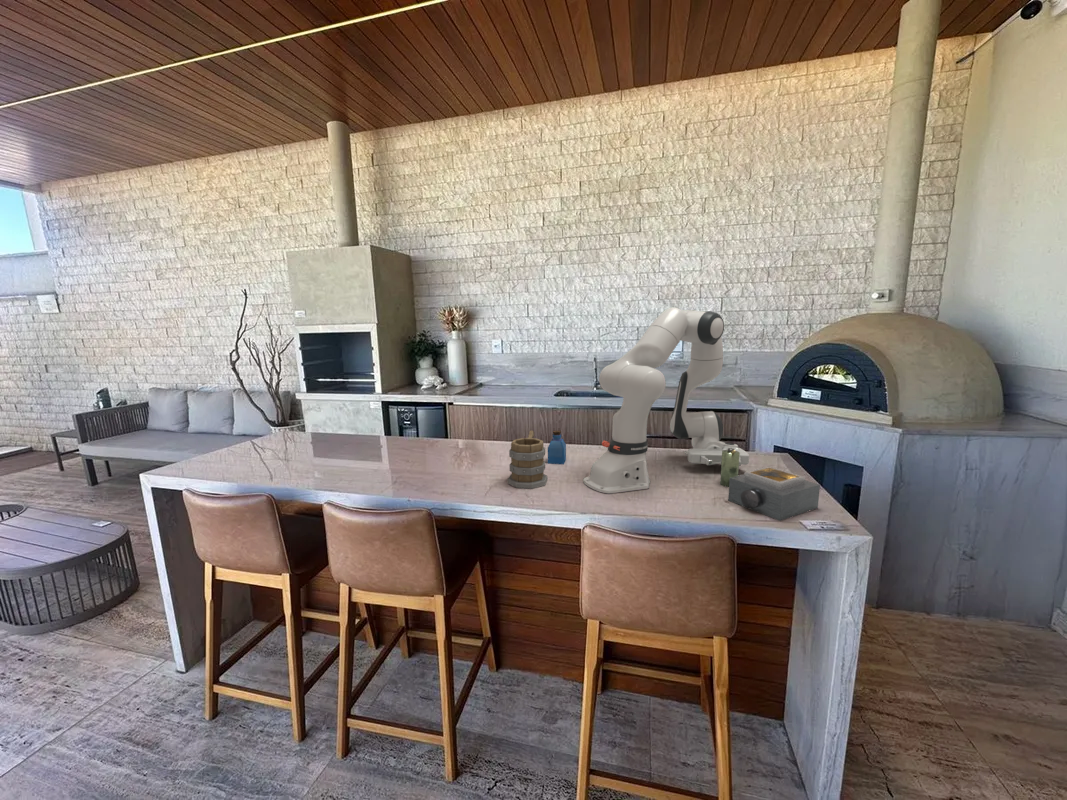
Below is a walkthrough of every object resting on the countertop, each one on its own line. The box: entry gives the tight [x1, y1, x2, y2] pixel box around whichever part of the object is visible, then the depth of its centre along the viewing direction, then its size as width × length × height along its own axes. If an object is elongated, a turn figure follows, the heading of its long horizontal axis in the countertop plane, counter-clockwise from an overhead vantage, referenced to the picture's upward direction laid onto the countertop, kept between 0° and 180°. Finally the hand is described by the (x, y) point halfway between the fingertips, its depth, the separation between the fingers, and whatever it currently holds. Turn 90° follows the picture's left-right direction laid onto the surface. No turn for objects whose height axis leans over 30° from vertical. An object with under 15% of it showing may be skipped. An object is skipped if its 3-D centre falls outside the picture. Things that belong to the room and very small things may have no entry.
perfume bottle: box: [547, 429, 567, 465], centre depth 168 cm, size 6×6×12 cm
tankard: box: [507, 430, 548, 490], centre depth 149 cm, size 20×13×15 cm, turn 170°
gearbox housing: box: [727, 466, 821, 522], centre depth 126 cm, size 19×16×9 cm
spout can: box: [719, 448, 740, 488], centre depth 142 cm, size 6×5×13 cm
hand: (724, 463), depth 147 cm, fingers open, 8 cm apart
